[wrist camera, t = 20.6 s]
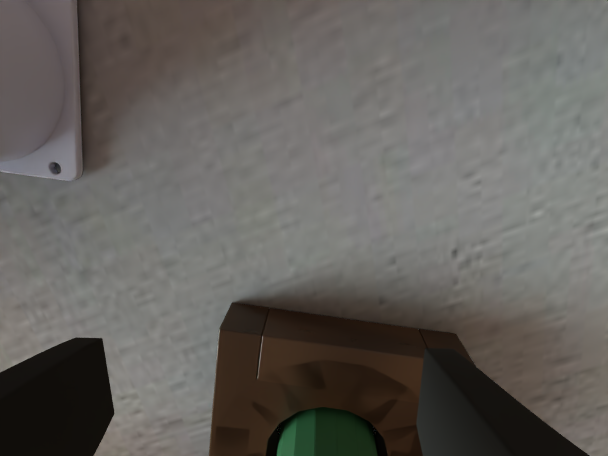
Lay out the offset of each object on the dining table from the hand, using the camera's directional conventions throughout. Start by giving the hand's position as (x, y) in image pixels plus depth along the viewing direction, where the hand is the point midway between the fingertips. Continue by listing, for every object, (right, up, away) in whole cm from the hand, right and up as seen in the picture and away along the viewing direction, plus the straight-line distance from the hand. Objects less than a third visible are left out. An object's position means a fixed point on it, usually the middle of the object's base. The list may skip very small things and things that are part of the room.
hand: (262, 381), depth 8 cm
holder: (+2, -7, +12) cm, 13 cm away
